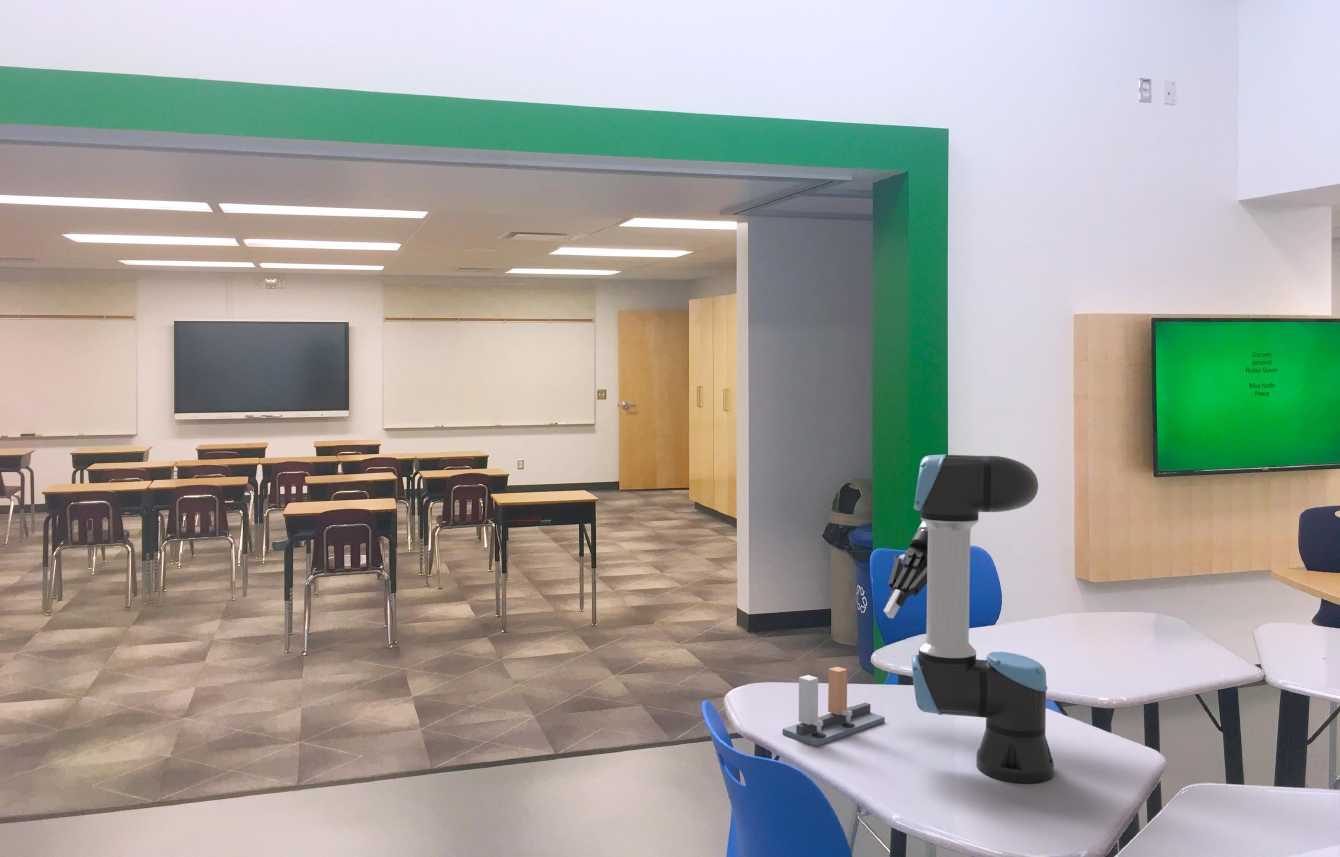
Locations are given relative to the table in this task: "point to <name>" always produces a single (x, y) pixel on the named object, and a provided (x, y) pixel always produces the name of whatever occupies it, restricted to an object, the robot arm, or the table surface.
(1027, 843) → the table surface
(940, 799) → the table surface
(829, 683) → the post
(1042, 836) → the table surface
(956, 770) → the table surface
